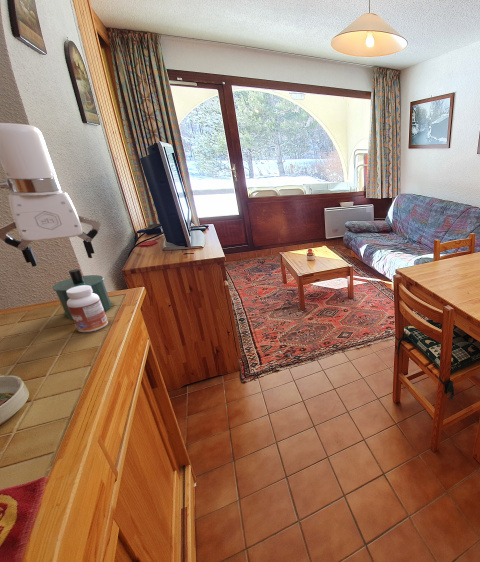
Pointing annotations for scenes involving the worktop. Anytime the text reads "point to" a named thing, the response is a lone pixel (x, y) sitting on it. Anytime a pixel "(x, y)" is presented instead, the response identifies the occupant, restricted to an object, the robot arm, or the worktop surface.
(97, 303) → the pill bottle
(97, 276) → the pot lid
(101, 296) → the pot
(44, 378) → the worktop surface
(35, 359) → the worktop surface
